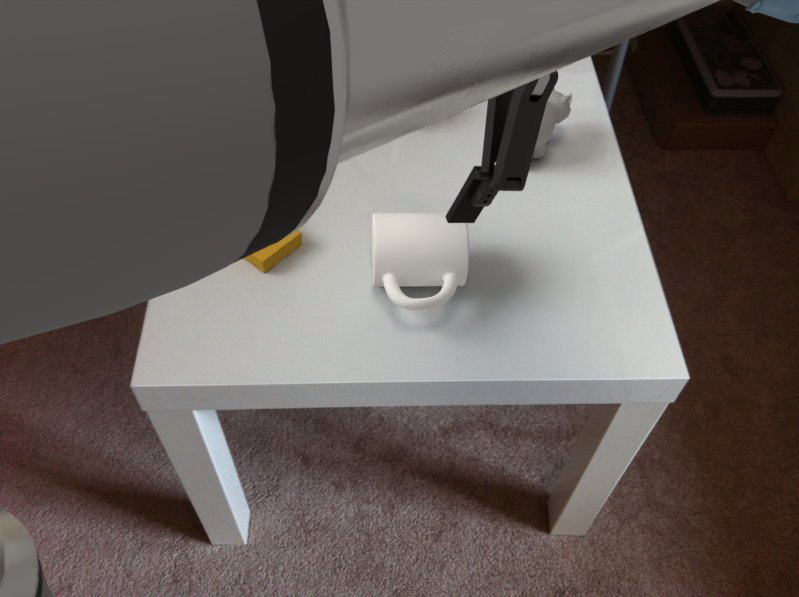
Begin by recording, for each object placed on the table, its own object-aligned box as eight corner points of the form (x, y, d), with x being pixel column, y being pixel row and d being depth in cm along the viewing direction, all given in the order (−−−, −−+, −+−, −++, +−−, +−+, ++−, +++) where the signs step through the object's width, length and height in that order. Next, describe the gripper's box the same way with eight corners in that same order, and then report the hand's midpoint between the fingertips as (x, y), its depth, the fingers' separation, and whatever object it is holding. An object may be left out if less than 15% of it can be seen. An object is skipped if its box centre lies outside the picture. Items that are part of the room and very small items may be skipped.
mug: (371, 247, 86) (372, 197, 79) (457, 246, 86) (464, 197, 80) (373, 331, 78) (374, 284, 72) (467, 330, 79) (475, 283, 73)
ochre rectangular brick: (264, 273, 83) (262, 261, 81) (205, 229, 86) (202, 217, 85) (302, 244, 86) (301, 232, 84) (243, 203, 89) (241, 190, 88)
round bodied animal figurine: (584, 142, 99) (599, 89, 92) (518, 178, 94) (530, 124, 87) (546, 114, 102) (559, 60, 95) (481, 147, 97) (489, 93, 91)
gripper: (659, 80, 49) (517, 269, 65) (526, -126, 61) (434, 76, 77) (567, 71, 46) (441, 272, 62) (446, -145, 58) (367, 70, 74)
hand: (437, 164), depth 70 cm, fingers open, 13 cm apart
